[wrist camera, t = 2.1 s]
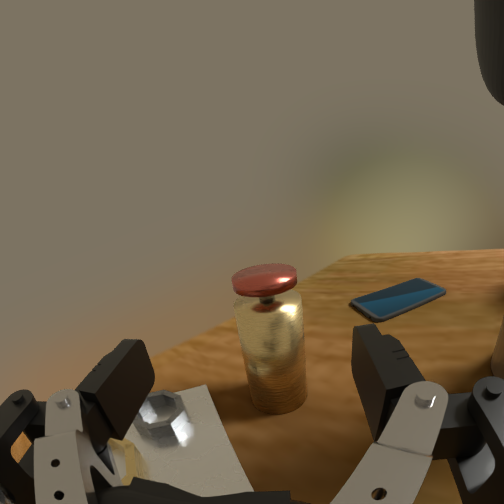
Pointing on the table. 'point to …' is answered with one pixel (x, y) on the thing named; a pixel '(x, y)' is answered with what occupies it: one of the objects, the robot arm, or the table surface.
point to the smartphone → (397, 299)
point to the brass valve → (271, 336)
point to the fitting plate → (180, 445)
